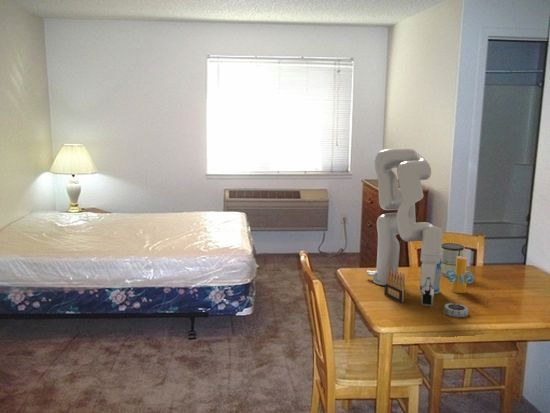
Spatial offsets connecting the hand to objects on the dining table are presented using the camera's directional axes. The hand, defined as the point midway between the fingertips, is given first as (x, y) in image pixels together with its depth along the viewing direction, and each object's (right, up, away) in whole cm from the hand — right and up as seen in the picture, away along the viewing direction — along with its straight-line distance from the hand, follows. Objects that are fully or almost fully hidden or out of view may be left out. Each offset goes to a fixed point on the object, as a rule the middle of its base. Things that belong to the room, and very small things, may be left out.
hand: (427, 301), depth 204 cm
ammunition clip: (-12, 0, +6) cm, 13 cm away
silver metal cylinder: (0, -1, 0) cm, 1 cm away
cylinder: (+19, +1, +17) cm, 25 cm away
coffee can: (+23, +5, +40) cm, 47 cm away
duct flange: (+9, -3, -8) cm, 12 cm away
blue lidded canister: (+6, +1, +16) cm, 17 cm away
